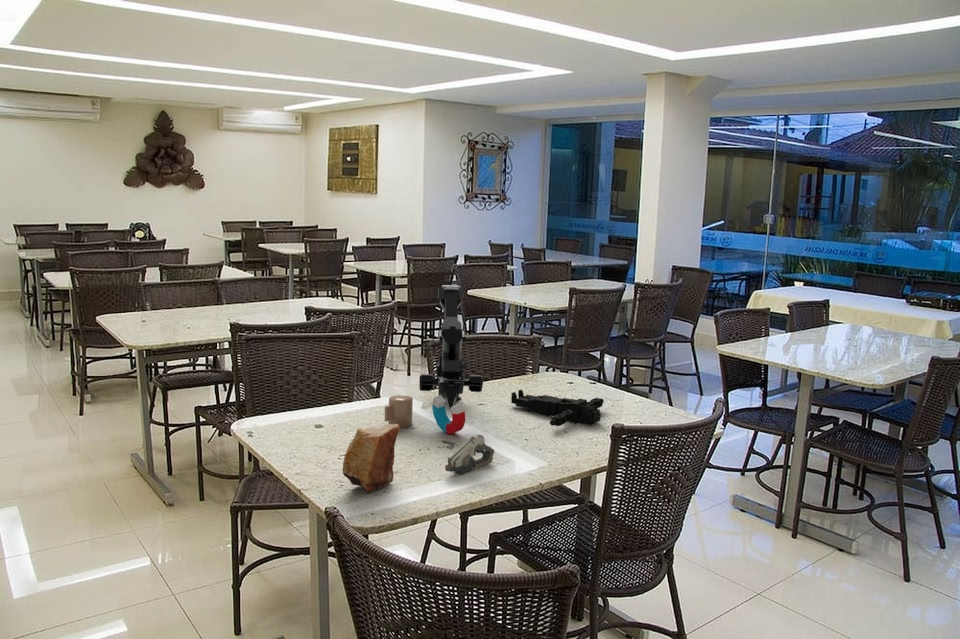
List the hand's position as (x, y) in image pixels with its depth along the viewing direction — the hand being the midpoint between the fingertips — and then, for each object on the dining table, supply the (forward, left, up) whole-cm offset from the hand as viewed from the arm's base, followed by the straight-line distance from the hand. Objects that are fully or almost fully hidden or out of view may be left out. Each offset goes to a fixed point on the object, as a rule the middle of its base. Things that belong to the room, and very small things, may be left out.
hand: (450, 408), depth 213 cm
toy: (+11, +36, -7) cm, 38 cm away
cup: (-14, -8, -7) cm, 18 cm away
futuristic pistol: (+24, -17, -7) cm, 30 cm away
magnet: (+1, -1, -7) cm, 7 cm away
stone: (+16, -42, -7) cm, 46 cm away
